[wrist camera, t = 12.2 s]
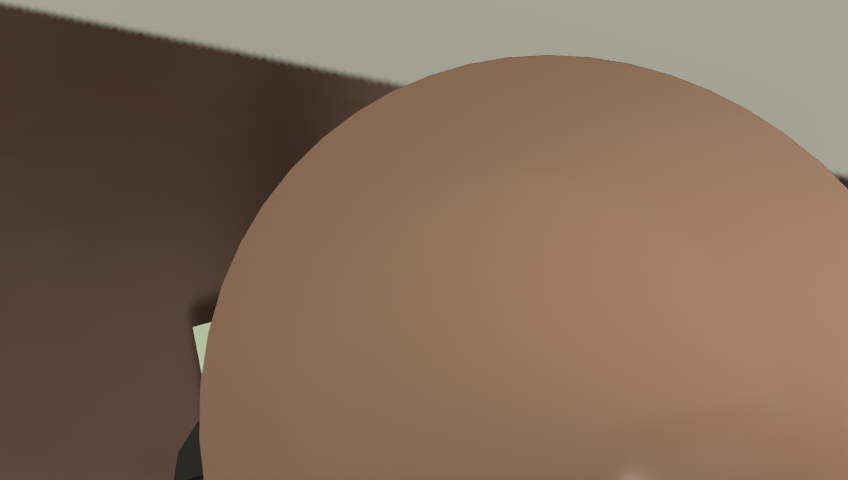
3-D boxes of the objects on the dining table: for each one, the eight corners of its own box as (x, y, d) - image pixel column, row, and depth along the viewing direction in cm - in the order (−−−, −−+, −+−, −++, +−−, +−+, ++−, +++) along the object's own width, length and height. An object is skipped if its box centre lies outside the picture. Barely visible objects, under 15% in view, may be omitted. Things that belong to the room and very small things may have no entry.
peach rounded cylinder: (510, 319, 17) (748, -1, 6) (583, 523, 15) (1143, 661, 4) (318, 376, 16) (141, 139, 5) (373, 598, 14) (301, 1043, 3)
